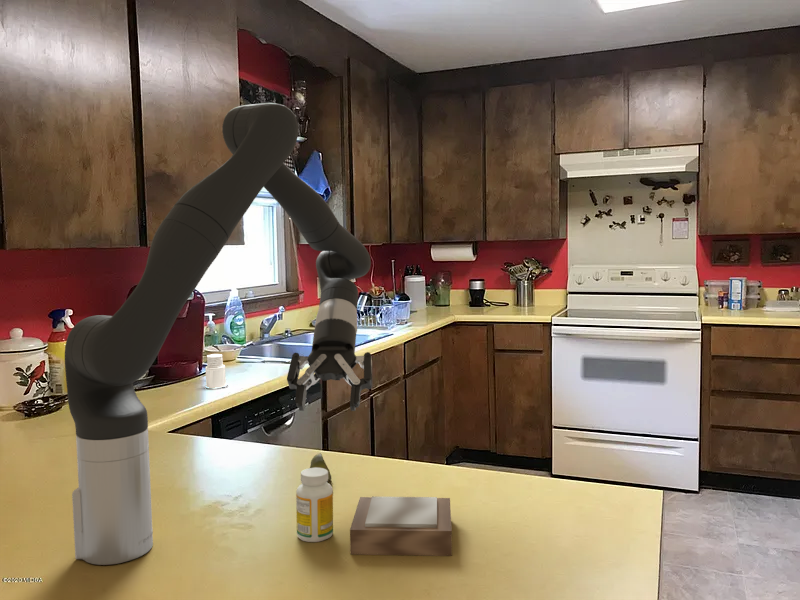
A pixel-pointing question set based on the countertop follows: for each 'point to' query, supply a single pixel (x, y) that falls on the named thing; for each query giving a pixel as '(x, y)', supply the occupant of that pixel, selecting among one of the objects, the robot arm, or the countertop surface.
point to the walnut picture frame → (402, 526)
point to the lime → (319, 463)
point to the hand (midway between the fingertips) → (326, 408)
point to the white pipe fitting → (215, 371)
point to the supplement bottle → (314, 506)
